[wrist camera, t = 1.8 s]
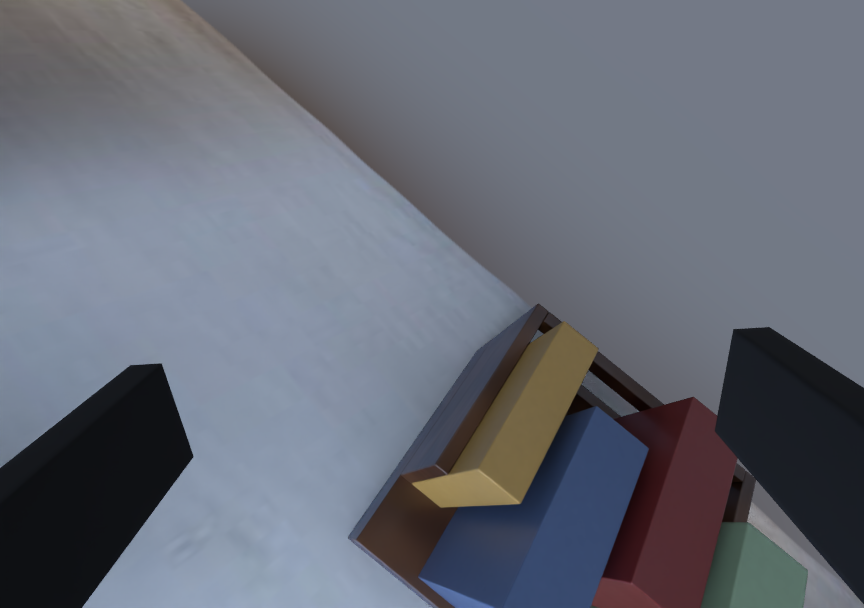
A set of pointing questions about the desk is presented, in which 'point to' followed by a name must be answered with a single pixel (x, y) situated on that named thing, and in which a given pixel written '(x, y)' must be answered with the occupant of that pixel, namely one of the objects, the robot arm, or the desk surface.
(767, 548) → the sage book
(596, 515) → the blue book
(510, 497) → the shelf books
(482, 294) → the desk surface
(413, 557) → the book rack
